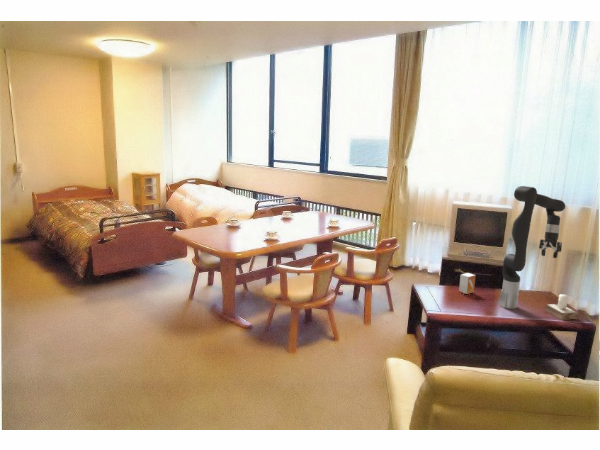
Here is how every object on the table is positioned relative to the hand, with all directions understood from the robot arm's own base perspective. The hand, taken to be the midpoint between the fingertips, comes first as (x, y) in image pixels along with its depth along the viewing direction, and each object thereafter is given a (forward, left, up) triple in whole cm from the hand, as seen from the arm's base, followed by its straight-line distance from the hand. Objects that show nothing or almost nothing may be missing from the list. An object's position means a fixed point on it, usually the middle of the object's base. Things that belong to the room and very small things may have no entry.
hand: (548, 256), depth 273 cm
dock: (-4, -22, -30) cm, 37 cm away
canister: (-4, -22, -26) cm, 34 cm away
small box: (-43, +18, -30) cm, 56 cm away
